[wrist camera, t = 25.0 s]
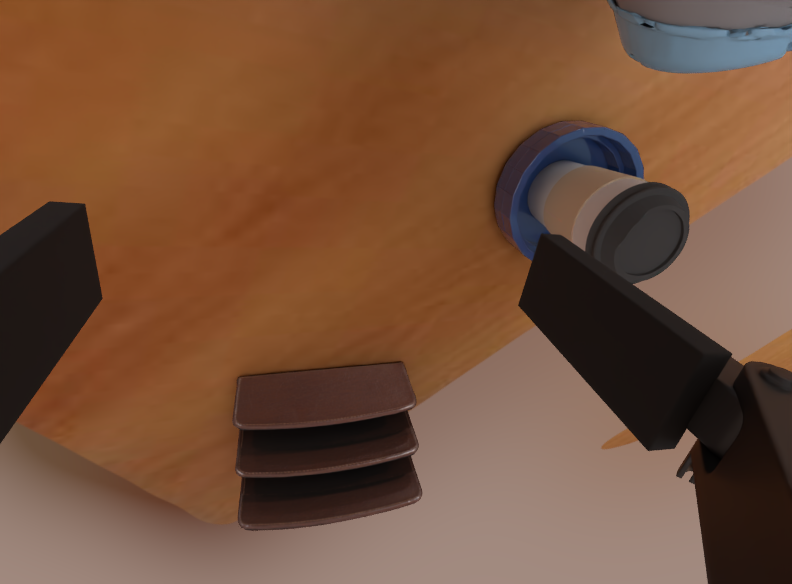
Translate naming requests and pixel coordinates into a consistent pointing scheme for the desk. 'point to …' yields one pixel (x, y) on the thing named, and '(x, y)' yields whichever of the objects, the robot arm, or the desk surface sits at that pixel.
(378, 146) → the desk surface
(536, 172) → the bowl
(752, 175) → the desk surface
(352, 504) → the letter holder
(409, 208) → the desk surface
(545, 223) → the coffee cup
